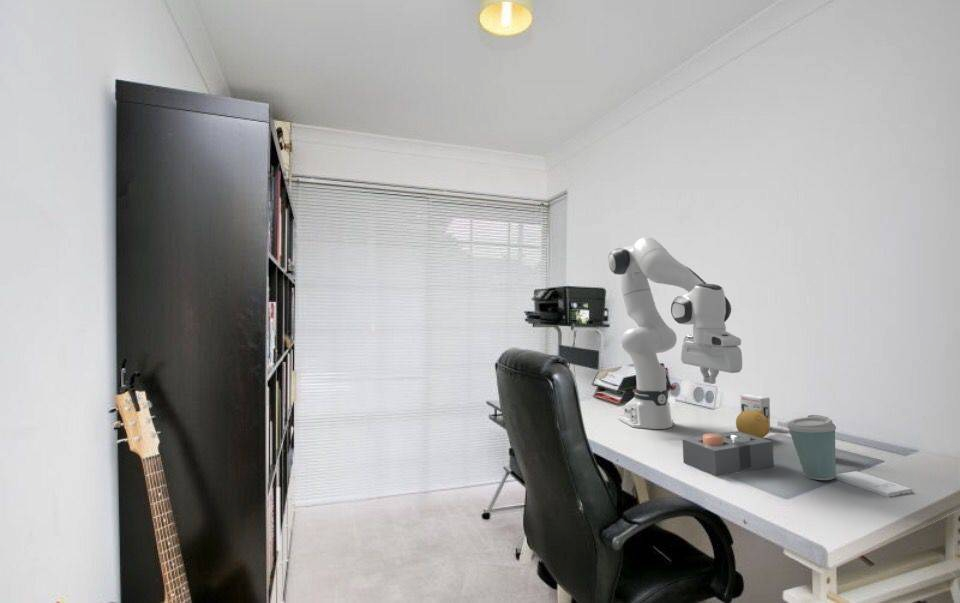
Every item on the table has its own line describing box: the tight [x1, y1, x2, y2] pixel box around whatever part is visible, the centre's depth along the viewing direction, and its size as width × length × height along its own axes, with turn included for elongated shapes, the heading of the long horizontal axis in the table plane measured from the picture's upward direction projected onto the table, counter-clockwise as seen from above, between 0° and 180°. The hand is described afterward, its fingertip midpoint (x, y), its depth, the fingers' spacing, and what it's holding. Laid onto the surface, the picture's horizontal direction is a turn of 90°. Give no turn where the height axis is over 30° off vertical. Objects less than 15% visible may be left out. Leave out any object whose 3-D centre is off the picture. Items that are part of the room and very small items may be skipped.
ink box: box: [740, 393, 771, 430], centre depth 168 cm, size 9×5×12 cm, turn 24°
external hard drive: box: [834, 470, 914, 498], centre depth 113 cm, size 2×8×12 cm
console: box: [682, 430, 775, 477], centre depth 131 cm, size 12×21×7 cm, turn 108°
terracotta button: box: [702, 433, 723, 447], centre depth 130 cm, size 5×5×7 cm
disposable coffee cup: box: [786, 416, 837, 481], centre depth 120 cm, size 11×11×15 cm
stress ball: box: [735, 410, 770, 439], centre depth 154 cm, size 10×10×10 cm
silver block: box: [730, 433, 750, 442], centre depth 133 cm, size 5×5×7 cm
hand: (709, 382), depth 135 cm, fingers closed
